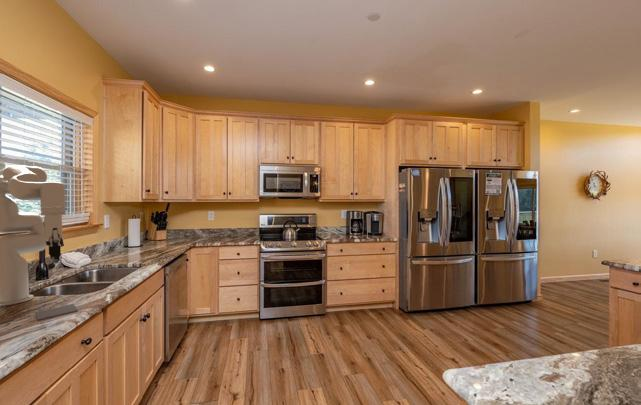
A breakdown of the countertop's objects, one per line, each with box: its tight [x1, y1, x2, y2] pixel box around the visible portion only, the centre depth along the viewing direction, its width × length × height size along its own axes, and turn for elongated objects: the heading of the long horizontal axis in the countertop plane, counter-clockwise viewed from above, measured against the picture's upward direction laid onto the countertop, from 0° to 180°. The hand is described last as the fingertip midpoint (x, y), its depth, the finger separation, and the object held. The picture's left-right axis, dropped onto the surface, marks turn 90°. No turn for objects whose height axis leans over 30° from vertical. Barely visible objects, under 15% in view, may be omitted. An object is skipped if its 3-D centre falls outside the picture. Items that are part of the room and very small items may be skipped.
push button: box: [46, 238, 64, 264], centre depth 117 cm, size 7×5×10 cm
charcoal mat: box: [35, 303, 79, 322], centre depth 117 cm, size 12×12×1 cm
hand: (54, 254), depth 117 cm, fingers closed on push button, 4 cm apart
